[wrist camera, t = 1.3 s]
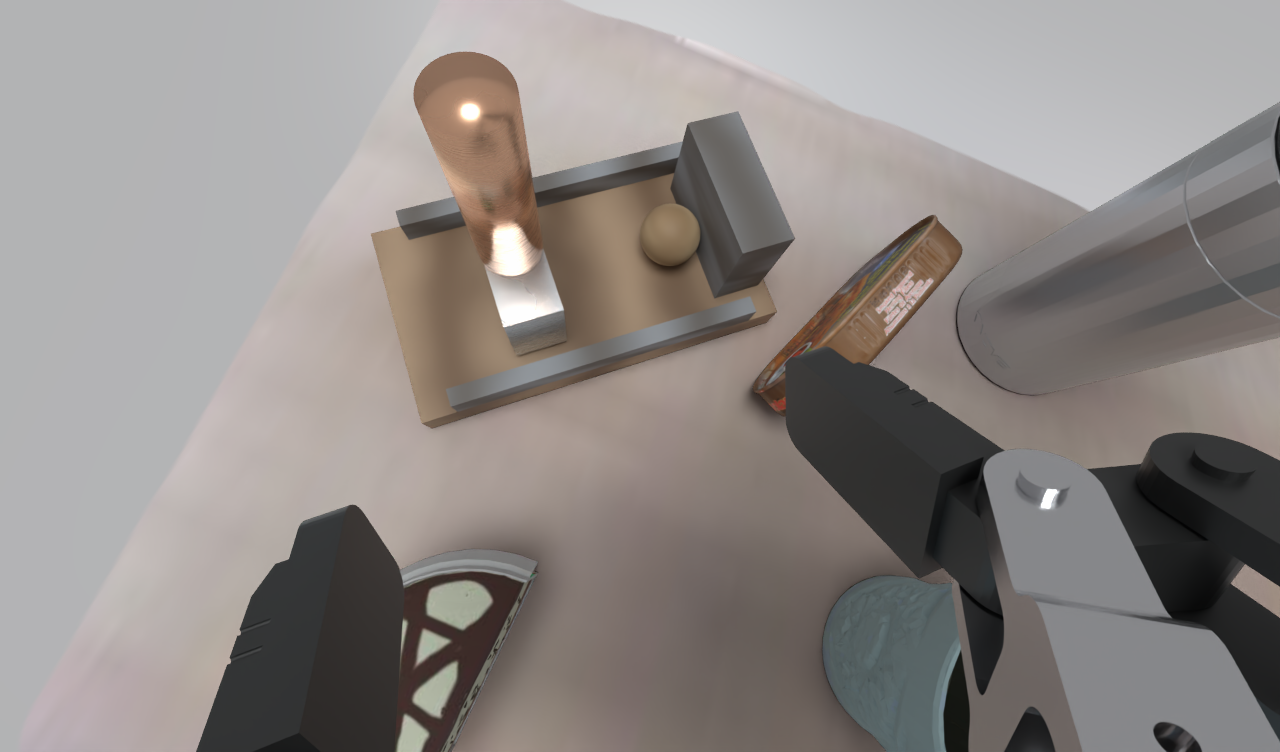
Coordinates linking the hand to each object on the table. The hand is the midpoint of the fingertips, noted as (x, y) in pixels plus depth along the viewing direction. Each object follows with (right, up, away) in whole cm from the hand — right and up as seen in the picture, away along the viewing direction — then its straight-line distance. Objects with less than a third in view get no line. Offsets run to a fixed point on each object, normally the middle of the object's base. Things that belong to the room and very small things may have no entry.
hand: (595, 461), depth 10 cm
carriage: (-6, +7, +21) cm, 23 cm away
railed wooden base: (-3, +7, +24) cm, 25 cm away
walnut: (+2, +10, +23) cm, 25 cm away
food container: (-10, -12, +19) cm, 25 cm away
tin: (+13, +4, +25) cm, 29 cm away
